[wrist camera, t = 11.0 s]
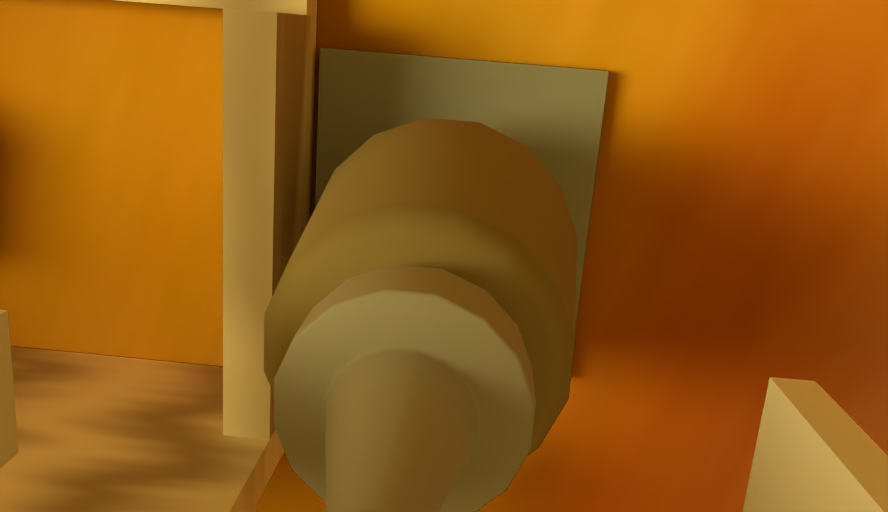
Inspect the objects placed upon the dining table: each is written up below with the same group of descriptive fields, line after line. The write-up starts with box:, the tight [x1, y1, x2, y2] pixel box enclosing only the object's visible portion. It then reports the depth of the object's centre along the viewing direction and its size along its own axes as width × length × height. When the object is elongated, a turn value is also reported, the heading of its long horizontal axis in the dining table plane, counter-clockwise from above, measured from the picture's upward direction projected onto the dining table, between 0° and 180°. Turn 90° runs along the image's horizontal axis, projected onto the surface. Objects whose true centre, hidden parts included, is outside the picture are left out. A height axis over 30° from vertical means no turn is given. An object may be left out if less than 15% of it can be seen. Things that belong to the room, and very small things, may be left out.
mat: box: [315, 48, 609, 322], centre depth 28 cm, size 10×11×1 cm
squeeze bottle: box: [264, 118, 577, 512], centre depth 19 cm, size 8×8×18 cm
